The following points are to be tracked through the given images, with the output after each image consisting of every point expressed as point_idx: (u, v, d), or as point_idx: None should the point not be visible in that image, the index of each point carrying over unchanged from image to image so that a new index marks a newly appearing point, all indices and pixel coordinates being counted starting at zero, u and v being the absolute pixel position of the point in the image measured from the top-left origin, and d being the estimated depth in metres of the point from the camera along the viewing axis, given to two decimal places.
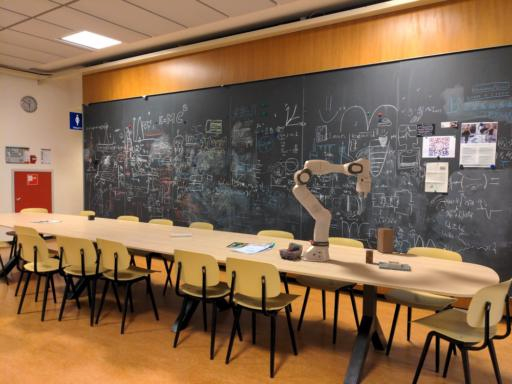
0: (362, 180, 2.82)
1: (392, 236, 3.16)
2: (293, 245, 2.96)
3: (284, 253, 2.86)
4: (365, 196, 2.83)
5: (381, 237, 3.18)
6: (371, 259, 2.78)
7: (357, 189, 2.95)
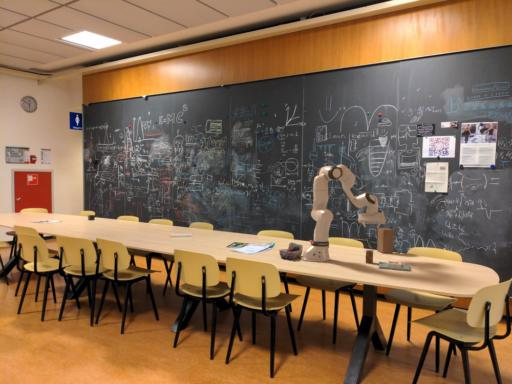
0: (380, 211, 2.95)
1: (392, 236, 3.16)
2: (293, 245, 2.96)
3: (284, 253, 2.86)
4: (378, 226, 2.90)
5: (381, 237, 3.18)
6: (371, 259, 2.78)
7: (362, 219, 2.96)
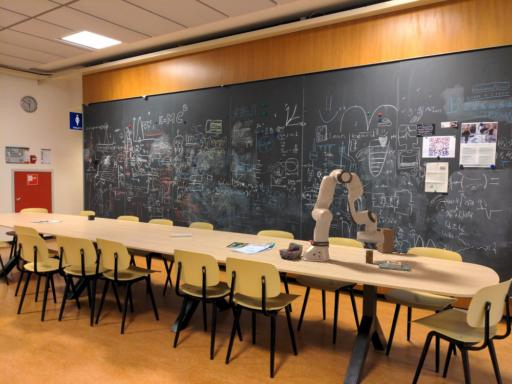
0: (379, 230, 2.91)
1: (392, 236, 3.16)
2: (293, 245, 2.97)
3: (284, 253, 2.86)
4: (377, 245, 2.86)
5: None
6: (371, 259, 2.78)
7: (361, 237, 2.92)
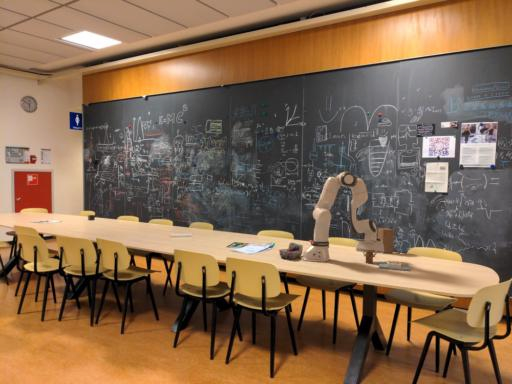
0: (379, 240, 2.84)
1: (392, 236, 3.16)
2: (293, 245, 2.97)
3: (284, 253, 2.87)
4: None
5: (381, 237, 3.18)
6: (371, 259, 2.78)
7: (360, 247, 2.84)
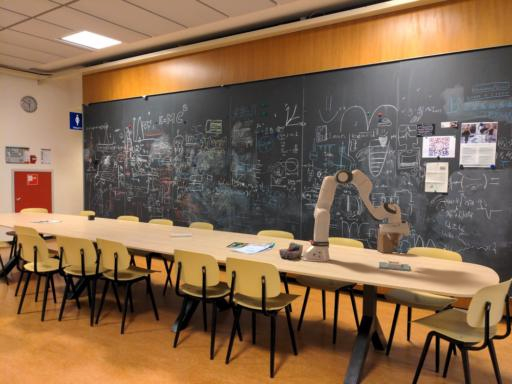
0: (404, 222, 2.71)
1: None
2: (293, 245, 2.97)
3: (284, 253, 2.87)
4: (400, 238, 2.67)
5: (381, 237, 3.18)
6: (397, 242, 2.65)
7: (385, 230, 2.72)
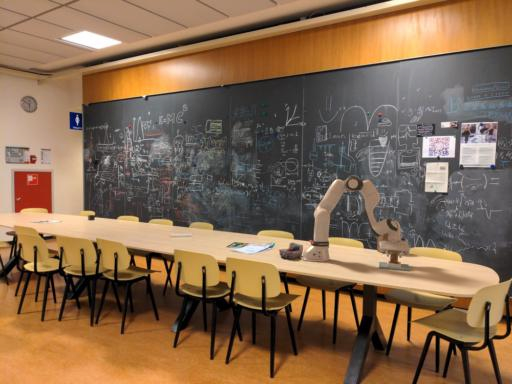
0: (404, 239, 2.71)
1: None
2: (293, 245, 2.97)
3: (284, 253, 2.87)
4: (401, 256, 2.67)
5: (381, 237, 3.18)
6: (396, 262, 2.65)
7: (384, 247, 2.72)
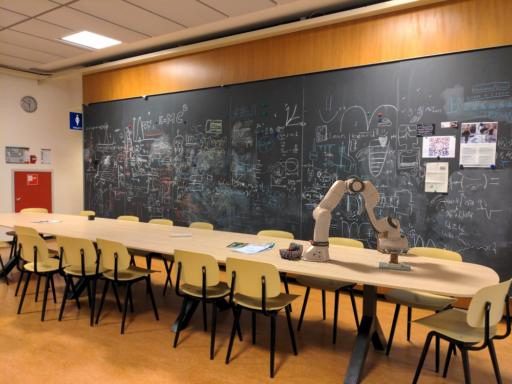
0: (403, 237, 2.83)
1: None
2: (293, 245, 2.97)
3: (283, 253, 2.87)
4: (401, 252, 2.78)
5: (381, 237, 3.18)
6: (396, 262, 2.65)
7: (384, 244, 2.84)
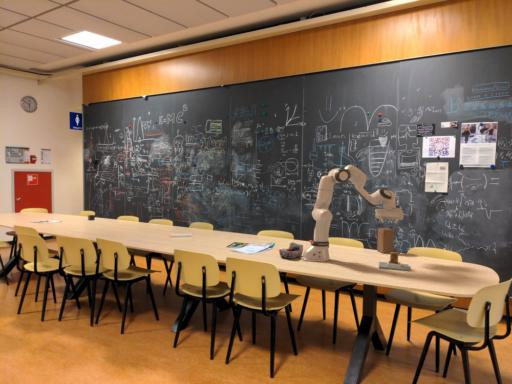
0: (398, 207, 2.89)
1: (392, 236, 3.16)
2: (293, 245, 2.97)
3: (283, 253, 2.88)
4: None
5: (381, 237, 3.18)
6: (396, 262, 2.65)
7: (380, 214, 2.89)
